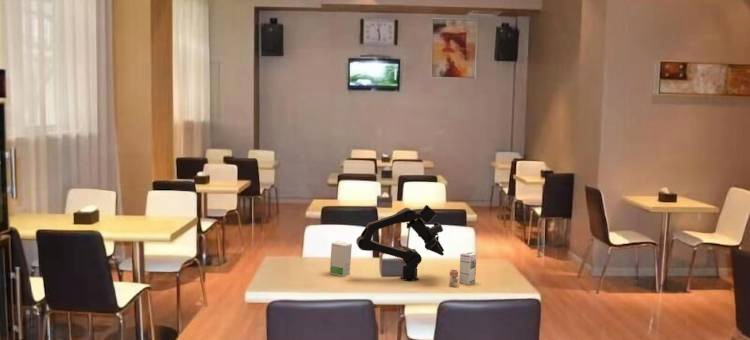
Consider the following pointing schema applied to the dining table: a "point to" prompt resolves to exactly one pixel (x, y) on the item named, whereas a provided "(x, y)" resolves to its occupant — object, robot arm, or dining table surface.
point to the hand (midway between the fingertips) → (443, 253)
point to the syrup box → (467, 268)
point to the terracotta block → (454, 273)
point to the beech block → (453, 281)
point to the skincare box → (340, 258)
